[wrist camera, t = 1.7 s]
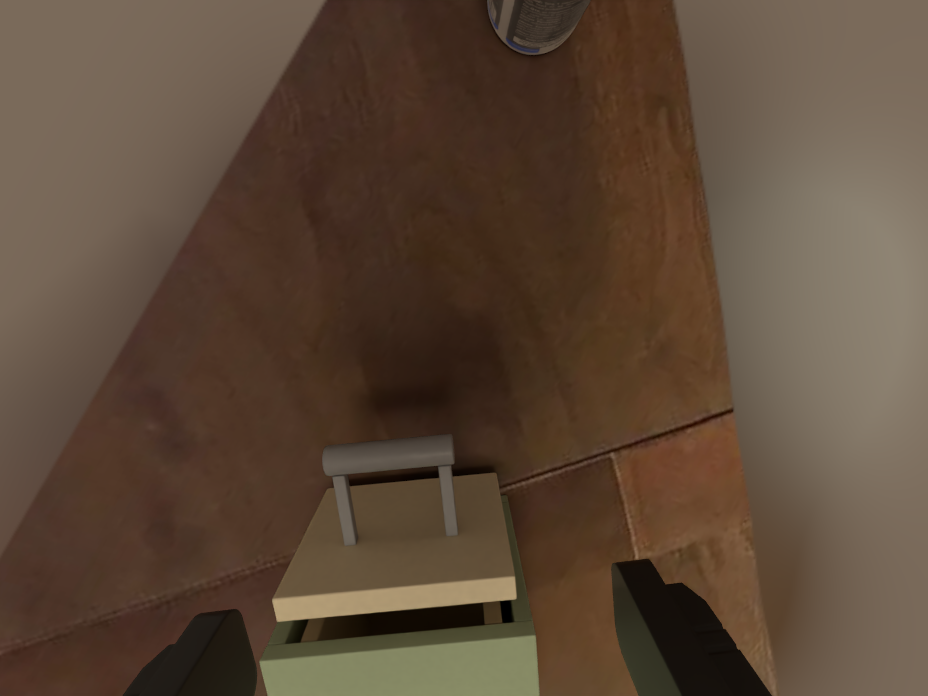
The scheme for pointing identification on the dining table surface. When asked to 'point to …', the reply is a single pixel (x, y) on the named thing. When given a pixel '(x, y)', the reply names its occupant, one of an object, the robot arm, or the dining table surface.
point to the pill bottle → (535, 22)
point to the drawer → (399, 547)
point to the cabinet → (413, 656)
